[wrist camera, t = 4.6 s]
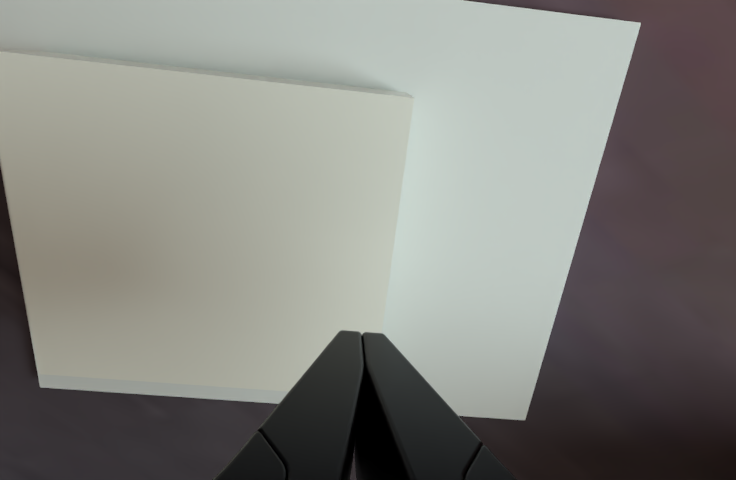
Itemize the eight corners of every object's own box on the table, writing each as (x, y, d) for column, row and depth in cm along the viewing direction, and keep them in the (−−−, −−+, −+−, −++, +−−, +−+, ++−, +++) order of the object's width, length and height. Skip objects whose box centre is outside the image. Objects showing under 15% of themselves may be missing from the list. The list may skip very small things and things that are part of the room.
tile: (414, 97, 11) (-19, 49, 11) (372, 397, 14) (39, 374, 14) (404, 91, 13) (43, 50, 13) (370, 353, 17) (81, 331, 16)
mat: (629, 24, 13) (640, 22, 13) (519, 409, 18) (525, 420, 18) (-23, -58, 12) (-41, -64, 12) (50, 376, 17) (40, 387, 17)
